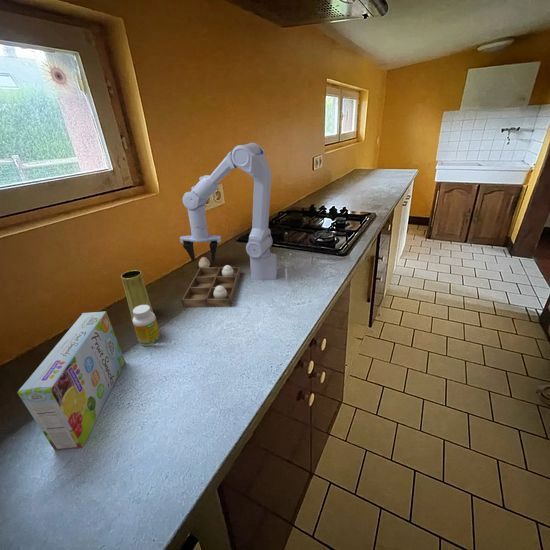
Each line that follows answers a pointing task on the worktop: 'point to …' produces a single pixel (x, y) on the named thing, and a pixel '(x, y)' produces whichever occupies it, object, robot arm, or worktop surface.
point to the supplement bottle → (145, 325)
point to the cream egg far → (227, 271)
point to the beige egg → (204, 262)
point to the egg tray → (211, 288)
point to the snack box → (74, 381)
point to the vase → (135, 290)
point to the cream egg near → (220, 292)
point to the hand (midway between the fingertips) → (203, 259)
